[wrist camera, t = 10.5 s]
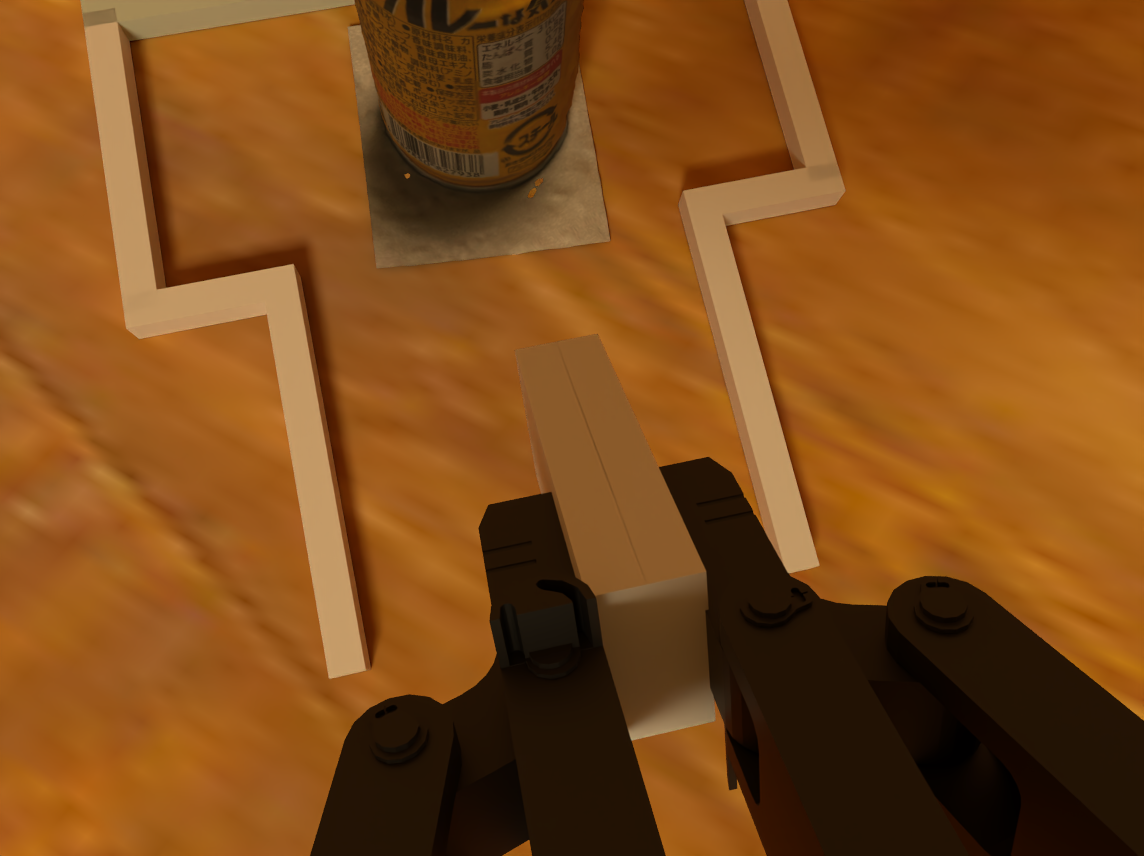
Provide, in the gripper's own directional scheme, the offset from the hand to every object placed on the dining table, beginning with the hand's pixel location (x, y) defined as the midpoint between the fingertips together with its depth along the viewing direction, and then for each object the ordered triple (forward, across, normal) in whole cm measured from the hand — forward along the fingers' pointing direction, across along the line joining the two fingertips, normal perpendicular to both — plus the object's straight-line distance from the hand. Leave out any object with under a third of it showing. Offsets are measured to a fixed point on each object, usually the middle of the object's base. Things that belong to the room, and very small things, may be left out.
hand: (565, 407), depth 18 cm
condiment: (+17, 0, 0) cm, 17 cm away
